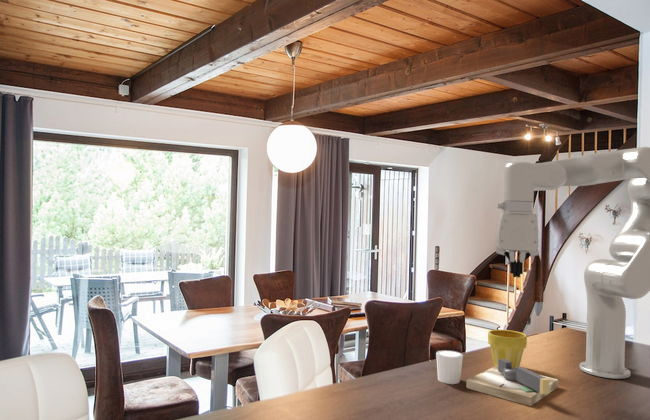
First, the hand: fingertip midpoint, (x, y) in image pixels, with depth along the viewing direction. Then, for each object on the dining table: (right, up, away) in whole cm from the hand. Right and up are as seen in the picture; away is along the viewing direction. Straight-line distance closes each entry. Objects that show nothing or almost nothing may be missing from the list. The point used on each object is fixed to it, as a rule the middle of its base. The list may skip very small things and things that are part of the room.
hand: (516, 276), depth 135 cm
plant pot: (0, -27, +9) cm, 29 cm away
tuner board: (-4, -27, -8) cm, 28 cm away
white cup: (-19, -27, -3) cm, 33 cm away
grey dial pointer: (-3, -25, -11) cm, 27 cm away
